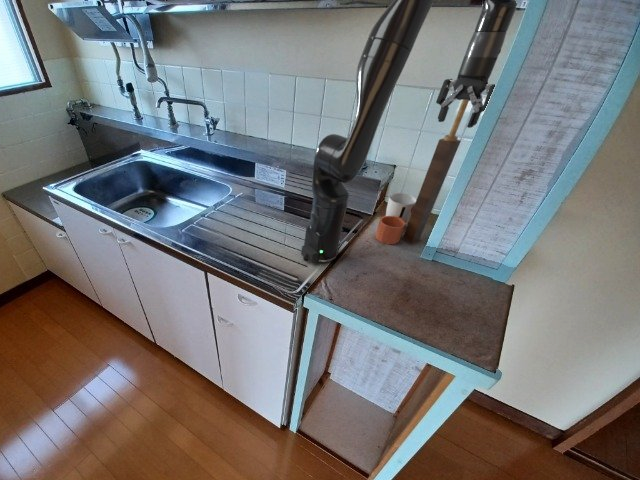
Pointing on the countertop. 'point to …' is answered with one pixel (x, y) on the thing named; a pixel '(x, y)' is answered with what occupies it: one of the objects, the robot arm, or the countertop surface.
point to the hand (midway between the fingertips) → (455, 124)
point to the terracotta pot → (390, 229)
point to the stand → (430, 189)
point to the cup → (400, 205)
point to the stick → (457, 122)
